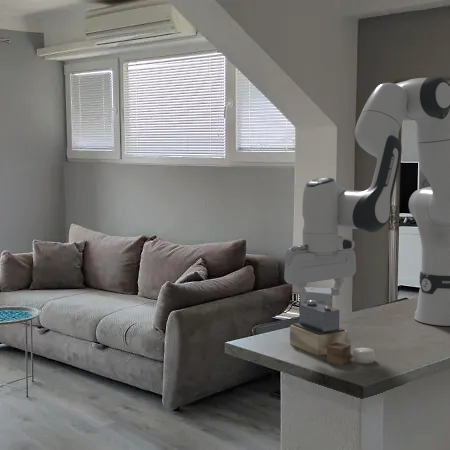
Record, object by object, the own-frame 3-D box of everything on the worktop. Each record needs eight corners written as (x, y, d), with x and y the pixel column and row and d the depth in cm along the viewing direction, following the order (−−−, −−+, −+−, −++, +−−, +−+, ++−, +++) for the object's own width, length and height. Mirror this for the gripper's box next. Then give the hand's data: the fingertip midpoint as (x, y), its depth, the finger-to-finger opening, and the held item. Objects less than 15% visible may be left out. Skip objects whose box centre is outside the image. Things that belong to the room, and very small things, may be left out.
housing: (339, 329, 173) (339, 306, 172) (323, 332, 171) (323, 308, 170) (314, 321, 182) (315, 298, 181) (299, 323, 179) (299, 300, 179)
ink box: (330, 336, 187) (331, 293, 186) (298, 334, 189) (299, 291, 188) (332, 328, 196) (333, 286, 194) (301, 326, 197) (302, 285, 196)
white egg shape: (364, 356, 169) (365, 346, 169) (378, 362, 165) (379, 351, 165) (348, 359, 167) (348, 349, 167) (362, 365, 163) (362, 354, 162)
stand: (318, 339, 184) (318, 319, 184) (347, 350, 174) (347, 329, 173) (290, 344, 180) (290, 323, 179) (318, 356, 169) (318, 334, 169)
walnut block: (335, 358, 168) (336, 342, 167) (350, 361, 165) (350, 345, 165) (326, 362, 165) (327, 345, 164) (341, 365, 162) (341, 349, 162)
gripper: (293, 248, 166) (294, 305, 168) (359, 241, 176) (359, 294, 178) (278, 245, 171) (279, 300, 173) (343, 238, 181) (343, 290, 183)
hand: (320, 297), depth 175 cm, fingers open, 8 cm apart
